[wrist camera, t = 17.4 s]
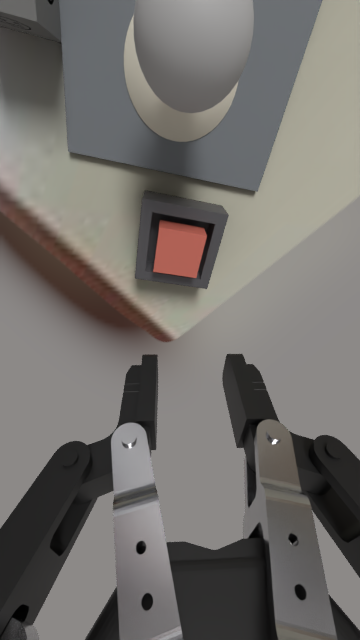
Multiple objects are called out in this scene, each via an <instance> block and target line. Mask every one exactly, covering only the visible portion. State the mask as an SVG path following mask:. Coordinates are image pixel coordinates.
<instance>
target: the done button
mask: <svg viewBox="0 0 360 640" xmlns="http://www.w3.org/2000/svg"><path fill="white" fill-rule="evenodd" d="M206 238H207V235H206V232H205V229H204V228H203V227H198V226H192V225H187V224H181V223H176V222H171V221H165V220H160V222H159V230H158V237H157V244H156V251H155V258H154V268H153V272H159V273H165V274H172V275H178V276H185V277H192V278H196V277H197V273H198V269H199V265H200V261H201V257H202V254H203V250H204V246H205V242H206Z"/></svg>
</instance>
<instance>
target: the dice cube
mask: <svg viewBox="0 0 360 640" xmlns="http://www.w3.org/2000/svg"><path fill="white" fill-rule="evenodd" d="M0 26H2V27H5V28H9V29H13V30H16V31H20V32H24V33H27V34H31V35H35V36H38V37H42V38H46V39H49V40H53V41H57V42H60V43H62V42H61V26H60V9H59V0H0Z"/></svg>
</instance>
